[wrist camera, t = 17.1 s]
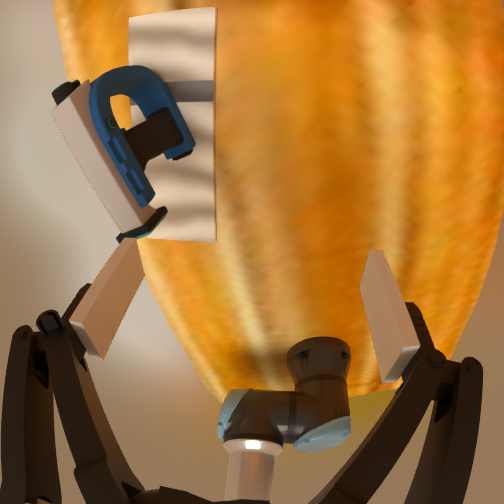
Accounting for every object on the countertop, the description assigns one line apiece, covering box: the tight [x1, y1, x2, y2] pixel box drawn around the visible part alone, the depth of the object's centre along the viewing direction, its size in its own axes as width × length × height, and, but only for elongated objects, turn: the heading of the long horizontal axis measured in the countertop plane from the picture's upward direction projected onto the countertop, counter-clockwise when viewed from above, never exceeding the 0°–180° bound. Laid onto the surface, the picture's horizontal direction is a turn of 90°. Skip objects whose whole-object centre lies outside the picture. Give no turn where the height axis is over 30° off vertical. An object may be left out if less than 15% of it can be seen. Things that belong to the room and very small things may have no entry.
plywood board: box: [129, 7, 217, 243], centre depth 39 cm, size 36×12×1 cm, turn 178°
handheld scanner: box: [51, 65, 196, 244], centre depth 29 cm, size 5×16×20 cm, turn 22°
